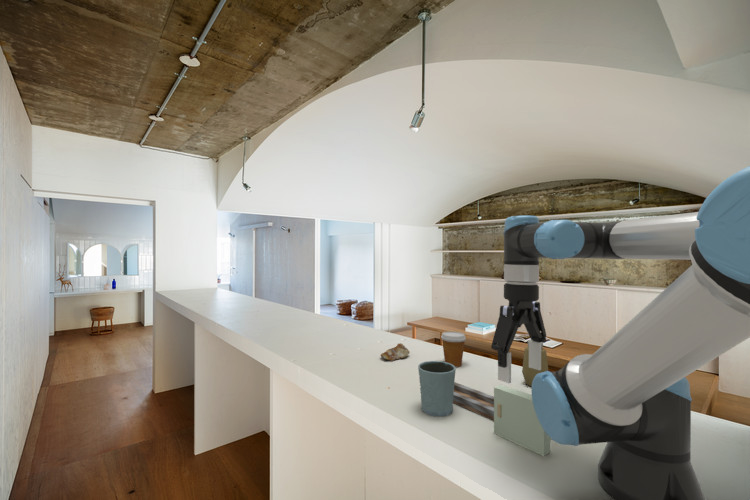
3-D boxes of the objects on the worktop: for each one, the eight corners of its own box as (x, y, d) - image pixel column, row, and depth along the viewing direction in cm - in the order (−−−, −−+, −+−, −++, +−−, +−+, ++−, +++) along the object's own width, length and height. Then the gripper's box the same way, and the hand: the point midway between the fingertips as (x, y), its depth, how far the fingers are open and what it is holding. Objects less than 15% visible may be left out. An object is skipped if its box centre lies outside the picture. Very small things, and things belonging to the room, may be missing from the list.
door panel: (550, 451, 75) (550, 401, 75) (543, 456, 73) (543, 405, 73) (500, 429, 85) (500, 384, 85) (493, 433, 83) (493, 387, 83)
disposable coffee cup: (466, 369, 129) (466, 337, 129) (440, 367, 130) (440, 336, 131) (465, 361, 138) (465, 331, 138) (440, 360, 140) (441, 330, 140)
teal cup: (459, 407, 97) (460, 364, 97) (448, 421, 88) (448, 375, 88) (426, 399, 102) (426, 358, 102) (412, 412, 93) (412, 368, 93)
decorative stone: (414, 344, 146) (393, 356, 134) (414, 354, 146) (394, 367, 135) (395, 340, 152) (374, 351, 140) (396, 349, 152) (375, 361, 141)
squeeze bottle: (520, 386, 112) (521, 331, 112) (523, 378, 119) (523, 327, 120) (548, 391, 108) (548, 334, 109) (549, 383, 116) (549, 329, 116)
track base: (519, 415, 92) (519, 405, 92) (502, 424, 87) (502, 414, 87) (448, 387, 111) (448, 379, 111) (431, 393, 106) (431, 385, 106)
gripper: (531, 279, 90) (531, 360, 90) (475, 284, 75) (474, 381, 75) (561, 281, 84) (561, 367, 84) (506, 287, 69) (506, 393, 69)
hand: (520, 374), depth 79 cm, fingers open, 13 cm apart
